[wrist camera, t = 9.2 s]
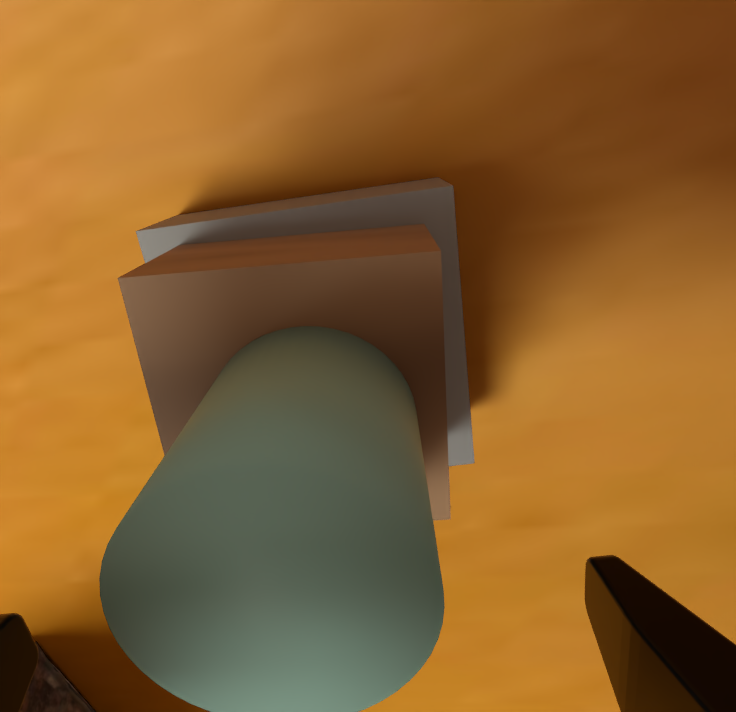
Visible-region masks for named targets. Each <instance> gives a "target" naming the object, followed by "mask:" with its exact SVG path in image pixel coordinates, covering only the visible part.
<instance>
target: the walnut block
mask: <svg viewBox="0 0 736 712" xmlns="http://www.w3.org/2000/svg"><path fill="white" fill-rule="evenodd" d="M118 281H119V284H120V288H121V292H122V296H123V300H124V303H125V307H126V311H127V315H128V318H129V322H130V326H131V330H132V334H133V337H134V341H135V345H136V349H137V352H138V356H139V360H140V364H141V368H142V371H143V375H144V379H145V383H146V387H147V390H148V394H149V398H150V402H151V405H152V409H153V413H154V417H155V421H156V424H157V428H158V432H159V436H160V439H161V443H162V447H163V451H164V455H166V453H167V452H168V450H169V449H170V447H171V446H172V444H173V443H174V441H175V440H176V438H177V437H178V435H179V434H180V432H181V431H182V429H183V428H184V426H185V425H186V423H187V422H188V420H189V419H190V417H191V416H192V414H193V413H194V411H195V410H196V408H197V407H198V405H199V404H200V402H201V401H202V399H203V398H204V396H205V395H206V393H207V392H208V390H209V389H210V387H211V386H212V384H213V383H214V381H215V380H216V378H217V377H218V375H219V374H220V372H221V371H222V369H223V368H224V367H225V365H226V364H227V363H228V362H229V360H230V359H231V358H232V357H233V356H234V355H235V354H236V353H237V352H238V351H239V350H240V349H242V348H243V347H245V346H246V345H247V344H249V343H250V342H252V341H254V340H256V339H257V338H259V337H261V336H263V335H266V334H268V333H271V332H274V331H277V330H281V329H286V328H290V327H300V326H318V327H326V328H332V329H336V330H340V331H343V332H347V333H350V334H352V335H354V336H357V337H359V338H361V339H363V340H365V341H367V342H368V343H370V344H372V345H373V346H375V347H376V348H377V349H379V350H380V351H381V352H383V353H384V354H385V355H386V356H387V357H388V358H389V359H390V360H391V361H392V362H393V363H394V364H395V365H396V367H397V368H398V369H399V371H400V372H401V373H402V375H403V376H404V378H405V380H406V382H407V383H408V385H409V388H410V390H411V393H412V395H413V398H414V403H415V407H416V412H417V419H418V425H419V432H420V439H421V445H422V452H423V459H424V465H425V472H426V478H427V485H428V492H429V498H430V505H431V512H432V518H433V520H446V519H450V490H449V462H448V434H447V405H446V377H445V348H444V320H443V292H442V263H441V250H440V248H439V247H438V245H437V244H436V242H435V240H434V239H433V237H432V236H431V234H430V232H429V231H428V229H427V228H426V226H425V224H416V225H404V226H393V227H381V228H369V229H358V230H346V231H335V232H323V233H312V234H300V235H289V236H277V237H265V238H254V239H242V240H231V241H219V242H208V243H196V244H185V245H178V246H176V247H175V248H173V249H171V250H169V251H167V252H165V253H163V254H162V255H160V256H158V257H156V258H154V259H152V260H150V261H149V262H147V263H145V264H143V265H141V266H139V267H137V268H136V269H134V270H132V271H130V272H128V273H126V274H124V275H123V276H121V277H119V278H118Z"/></svg>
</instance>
